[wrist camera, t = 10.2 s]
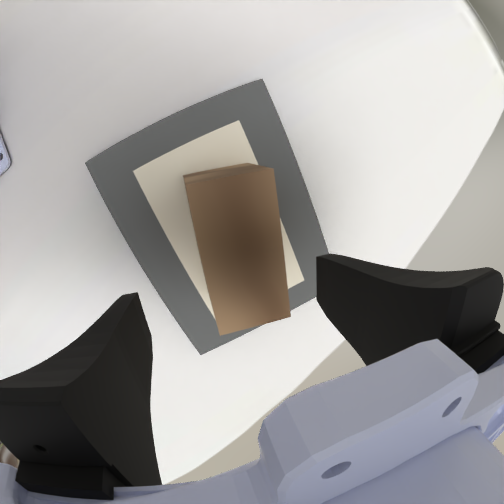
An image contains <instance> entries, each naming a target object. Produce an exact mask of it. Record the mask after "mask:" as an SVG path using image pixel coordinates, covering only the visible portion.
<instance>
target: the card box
mask: <svg viewBox="0 0 504 504" xmlns="http://www.w3.org/2000/svg"><path fill="white" fill-rule="evenodd" d="M183 178H184V184H185V189H186V194H187V199H188V204H189V209H190V214H191V218H192V223H193V228H194V232H195V237H196V242H197V246H198V251H199V255H200V259H201V264H202V268H203V272H204V277H205V281H206V285H207V289H208V293H209V297H210V301H211V305H212V308H213V312H214V316H215V320H216V323H217V327H218V330H219V334H220V336H221V335H225V334H229V333H233V332H236V331H240V330H244V329H248V328H252V327H255V326H259V325H263V324H266V323H270V322H274V321H277V320H281V319H284V318H288V317H291V314H290V304H289V294H288V285H287V275H286V266H285V257H284V248H283V240H282V231H281V223H280V215H279V207H278V199H277V191H276V183H275V176H274V169H273V168H269V167H265V166H260V165H256V164H251V163H243V164H238V165H232V166H226V167H221V168H216V169H211V170H206V171H201V172H196V173H191V174H186V175H183Z"/></svg>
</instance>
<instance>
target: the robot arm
mask: <svg viewBox="0 0 504 504" xmlns="http://www.w3.org/2000/svg"><path fill="white" fill-rule="evenodd" d="M1 154H3V159H2V160H1V158H0V175H1V174H2V173H4V172H5V171H6V170H7V169H8V168H9V166H10V162H11V161H10V157H9V155H8V152H7V150H6V147H5V144H4V142H3V139H2V136H1V133H0V156H1ZM316 284H317V301H318V303H319V305H320V306H321V308H322V310H323V311H324V313H325V315H326V316H327V318H328V319H329V320H330V321H331V322H332V324H333V325H334V326H335V327H336V328H337V329H338V331H339V332H340V333H341V334H342V335H343V336H344V338H345V339H346V340H347V341H348V342H349V343H350V344H351V346H352V347H353V348H354V349H355V350H356V352H357V353H358V354H359V356H360V357H361V358H362V360H363V361H364V363H365V364H366V367H363V368H361V369H358V370H355V371H353V372H350V373H348V374H345V375H342V376H339V377H337V378H334V379H331V380H328V381H326V382H323V383H320V384H317V385H314V386H311V387H309V388H307V389H305V390H303V391H301V392H299V393H297V394H295V395H293V396H291V397H289V398H287V399H285V400H284V401H283V402H282V403H281V404H280V405H279V406H278V407H277V408H276V409H274V410H273V411H272V412H271V413H270V414H269V415H268V416H267V417H266V418H265V419H264V420H263V423H262V426H261V429H260V433H259V436H258V442H259V448H260V453H261V454H260V458H259V459H257V460H254V461H252V462H250V463H247V464H245V465H242V466H239V467H237V468H234V469H232V470H229V471H226V472H224V473H221V474H218V475H215V476H213V477H209V478H206V479H204V480H200V481H193V482H186V483H178V484H167V485H162V482H161V478H160V474H159V469H158V464H157V458H156V453H155V446H154V440H153V432H152V423H151V413H150V395H151V377H152V361H153V352H152V337H151V333H150V330H149V327H148V324H147V321H146V318H145V315H144V312H143V309H142V305H141V302H140V299H139V295H138V292H136V293H131V294H125V295H122V296H121V297H120V298H119V299H117V300H116V301H115V302H114V303H113V304H112V305H111V307H110V308H109V309H108V310H107V311H106V312H105V313H104V314H103V315H102V316H101V317H100V318H99V319H98V320H97V321H96V322H95V323H94V324H93V325H92V326H91V327H89V328H88V329H87V330H86V331H85V332H84V333H83V334H82V335H81V336H80V337H78V338H77V339H76V340H75V341H73V342H72V343H71V344H69V345H68V346H67V347H65V348H64V349H63V350H61V351H59V352H58V353H56V354H55V355H53V356H52V357H50V358H48V359H47V360H45V361H43V362H42V363H40V364H38V365H36V366H34V367H32V368H30V369H28V370H26V371H23V372H21V373H19V374H16V375H13V376H11V377H8V378H5V379H3V380H0V441H1V442H2V443H3V444H4V446H5V447H6V448H7V449H8V450H9V451H10V452H11V453H12V454H13V455H14V456H15V457H16V458H17V459H18V460H20V461H19V465H18V469H17V468H15V467H13V466H11V465H9V464H5V463H0V504H504V456H503V454H502V453H501V452H500V451H499V450H498V449H497V448H496V447H495V446H494V445H493V444H492V443H493V442H494V440H496V438H497V437H498V436H499V435H500V434H501V433H502V432H503V431H504V334H502V333H501V332H500V331H498V329H500V324H499V323H498V322H496V321H495V317H496V314H497V311H498V308H499V305H500V301H501V298H502V293H503V285H504V284H503V277H502V275H501V273H500V272H498V271H496V270H494V269H493V268H489V267H485V268H478V269H472V270H464V271H449V272H448V271H446V272H435V271H416V270H408V269H400V268H394V267H389V266H384V265H379V264H375V263H371V262H367V261H363V260H359V259H355V258H351V257H346V256H342V255H337V254H326V255H321V256H317V257H316Z"/></svg>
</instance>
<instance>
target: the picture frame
mask: <svg viewBox="0 0 504 504" xmlns="http://www.w3.org/2000/svg"><path fill="white" fill-rule="evenodd" d="M243 163H251V164H256V165H260V166H265V167H269V168H273V169H274V176H275V183H276V191H277V199H278V207H279V215H280V223H281V231H282V240H283V248H284V257H285V266H286V275H287V285H288V294H289V304H290V311H291V310H293V309H294V308H296V307H298V306H300V305H302V304H304V303H306V302H307V301H309V300H311V299H313V298H315V297H317V284H316V257H317V256H321V255H326V254H329V253H328V249H327V246H326V243H325V240H324V237H323V234H322V231H321V228H320V225H319V222H318V219H317V216H316V213H315V210H314V207H313V205H312V202H311V199H310V196H309V193H308V191H307V188H306V185H305V182H304V180H303V177H302V174H301V172H300V169H299V166H298V164H297V161H296V158H295V156H294V153H293V151H292V148H291V146H290V143H289V140H288V138H287V135H286V133H285V131H284V128H283V126H282V123H281V121H280V118H279V116H278V114H277V111H276V109H275V106H274V104H273V102H272V99H271V97H270V95H269V93H268V90H267V88H266V86H265V84H264V81H263V79H260V80H257V81H254V82H251V83H248V84H245V85H242V86H240V87H237V88H234V89H232V90H229V91H226V92H224V93H221V94H219V95H216V96H214V97H211V98H209V99H206V100H204V101H202V102H199V103H197V104H195V105H192V106H190V107H188V108H186V109H183V110H181V111H179V112H177V113H175V114H173V115H171V116H168V117H166V118H164V119H162V120H160V121H158V122H156V123H154V124H152V125H150V126H148V127H146V128H144V129H143V130H141V131H139V132H137V133H135V134H133V135H131V136H129V137H128V138H126V139H124V140H122V141H120V142H119V143H117V144H115V145H113V146H112V147H110V148H108V149H107V150H105V151H103V152H102V153H100V154H98V155H97V156H95V157H93V158H92V159H90V160H89V161H87V162H86V163H85V164H86V166H87V168H88V170H89V172H90V174H91V176H92V178H93V180H94V182H95V184H96V186H97V188H98V190H99V192H100V194H101V196H102V198H103V200H104V202H105V204H106V205H107V207H108V209H109V211H110V213H111V215H112V217H113V218H114V220H115V222H116V224H117V226H118V227H119V229H120V231H121V233H122V235H123V236H124V238H125V240H126V242H127V243H128V245H129V247H130V248H131V250H132V252H133V254H134V255H135V257H136V259H137V260H138V262H139V264H140V265H141V267H142V268H143V270H144V272H145V273H146V275H147V277H148V278H149V280H150V281H151V283H152V285H153V286H154V288H155V289H156V291H157V292H158V294H159V295H160V297H161V299H162V300H163V302H164V303H165V305H166V306H167V308H168V309H169V311H170V312H171V314H172V315H173V317H174V318H175V319H176V321H177V322H178V324H179V325H180V327H181V328H182V330H183V331H184V332H185V334H186V335H187V337H188V338H189V340H190V341H191V342H192V344H193V345H194V347H195V348H196V349H197V351H198V352H199V353H200V355H202V354H204V353H206V352H208V351H211V350H213V349H215V348H217V347H219V346H221V345H223V344H225V343H227V342H230V341H232V340H234V339H236V338H238V337H240V336H242V335H244V334H246V333H248V332H250V331H252V330H254V329H256V328H258V327H260V326H262V325H259V326H255V327H252V328H248V329H244V330H240V331H236V332H233V333H229V334H225V335H221V336H220V334H219V330H218V327H217V323H216V320H215V316H214V312H213V308H212V305H211V301H210V297H209V293H208V289H207V285H206V281H205V277H204V272H203V268H202V264H201V259H200V255H199V251H198V246H197V242H196V237H195V232H194V228H193V223H192V218H191V214H190V209H189V204H188V199H187V194H186V189H185V184H184V178H183V175H186V174H191V173H196V172H201V171H206V170H211V169H216V168H221V167H226V166H232V165H238V164H243ZM263 325H264V324H263Z"/></svg>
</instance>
